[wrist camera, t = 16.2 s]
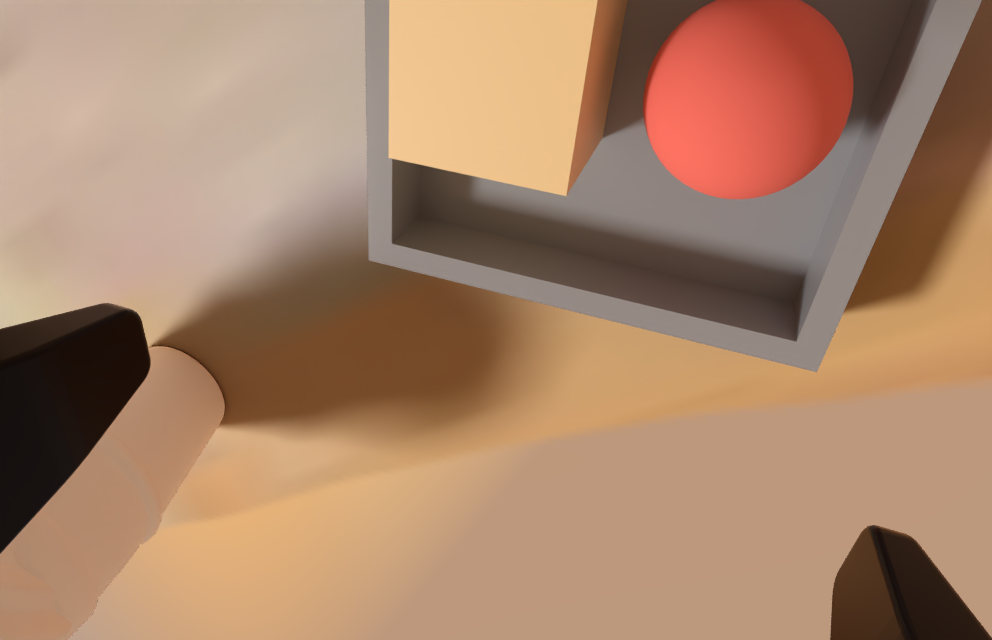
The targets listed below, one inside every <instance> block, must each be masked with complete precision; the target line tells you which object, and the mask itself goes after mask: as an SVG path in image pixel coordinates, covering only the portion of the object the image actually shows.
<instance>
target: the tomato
mask: <svg viewBox="0 0 992 640" xmlns="http://www.w3.org/2000/svg"><path fill="white" fill-rule="evenodd" d="M852 98H853V73H852V66H851V62H850V58H849V55H848V51H847V49H846V46H845V44H844V42H843V40H842V38H841V36H840V35H839V33H838V32H837V30H836V29H835V27H834V26H833V25H832V24H831V23H830V22H829V21H828V20H827V19H826V17H825V16H823V15H822V14H821V13H820V12H818V11H817V10H816V9H814V8H813V7H811V6H810V5H808V4H806V3H804V2H802V1H801V0H716V1H713V2H711V3H709V4H707V5H705V6H703V7H702V8H700V9H699V10H697V11H696V12H694V13H692V14H691V15H690V16H689V17H687V18H686V19H685V20H684V21H683V22H681V23H680V24H679V25H678V26H677V28H676V29H675V30H674V31H673V32H672V33H671V34H670V35H669V36H668V38H667V39H666V40H665V42H664V43H663V45H662V46H661V47H660V49H659V51H658V53H657V54H656V56H655V58H654V60H653V63H652V65H651V67H650V70H649V73H648V77H647V80H646V84H645V91H644V98H643V115H644V123H645V128H646V131H647V135H648V138H649V140H650V143H651V145H652V148H653V150H654V152H655V153H656V155H657V157H658V159H659V160H660V161H661V163H662V164H663V165H664V166H665V168H666V169H667V170H668V171H669V172H670V173H671V174H672V175H673V176H674V177H676V178H677V179H678V180H680V181H681V182H682V183H684V184H685V185H687V186H689V187H691V188H692V189H694V190H696V191H699V192H701V193H704V194H706V195H710V196H714V197H718V198H725V199H750V198H757V197H762V196H766V195H769V194H772V193H775V192H778V191H781V190H783V189H785V188H787V187H789V186H791V185H793V184H794V183H796V182H798V181H799V180H801V179H802V178H804V177H805V176H806V175H807V174H809V173H810V172H811V171H813V170H814V169H815V168H816V167H817V166H818V165H819V164H820V163H821V162H822V161H823V160H824V159H825V158H826V156H827V155H828V154H829V153H830V151H831V150H832V149H833V147H834V146H835V144H836V142H837V141H838V139H839V138H840V136H841V134H842V131H843V129H844V127H845V125H846V122H847V119H848V115H849V112H850V109H851V104H852Z"/></svg>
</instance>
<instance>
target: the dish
mask: <svg viewBox="0 0 992 640" xmlns="http://www.w3.org/2000/svg"><path fill="white" fill-rule="evenodd" d="M713 1H716V0H628V1H627V6H626V12H625V17H624V23H623V28H622V34H621V39H620V45H619V50H618V56H617V61H616V67H615V72H614V78H613V83H612V89H611V94H610V99H609V105H608V110H607V116H606V121H605V127H604V132H603V138H602V140H601V141H600V143H599V144H598V146H597V148H596V149H595V151H594V152H593V154H592V156H591V157H590V159H589V160H588V162H587V164H586V165H585V167H584V168H583V170H582V172H581V173H580V175H579V176H578V178H577V180H576V181H575V183H574V184H573V186H572V188H571V189H570V191H569V193H568V194H567V196H563V195H558V194H554V193H549V192H544V191H540V190H535V189H531V188H526V187H521V186H517V185H512V184H507V183H503V182H498V181H494V180H489V179H484V178H480V177H475V176H470V175H466V174H461V173H457V172H452V171H447V170H443V169H438V168H433V167H429V166H424V165H419V164H415V163H410V162H406V161H401V160H396V159H392V158H389V0H365V52H366V118H367V184H368V251H369V261H373V262H377V263H381V264H385V265H389V266H393V267H397V268H401V269H405V270H409V271H413V272H417V273H421V274H425V275H429V276H433V277H437V278H441V279H445V280H449V281H453V282H457V283H461V284H465V285H469V286H473V287H477V288H481V289H485V290H489V291H493V292H497V293H501V294H505V295H509V296H513V297H517V298H521V299H525V300H529V301H533V302H537V303H541V304H545V305H549V306H553V307H557V308H561V309H565V310H570V311H574V312H578V313H582V314H586V315H590V316H594V317H598V318H602V319H606V320H610V321H614V322H618V323H622V324H626V325H630V326H634V327H638V328H642V329H646V330H650V331H654V332H658V333H662V334H666V335H670V336H674V337H678V338H682V339H686V340H690V341H694V342H698V343H702V344H706V345H710V346H714V347H718V348H722V349H726V350H730V351H734V352H738V353H742V354H746V355H750V356H754V357H758V358H762V359H766V360H770V361H774V362H778V363H782V364H786V365H790V366H794V367H798V368H802V369H806V370H810V371H814V372H817V371H818V368H819V366H820V364H821V362H822V359H823V357H824V355H825V353H826V350H827V348H828V346H829V344H830V341H831V339H832V337H833V335H834V332H835V330H836V328H837V326H838V323H839V321H840V319H841V317H842V314H843V312H844V310H845V308H846V305H847V303H848V301H849V299H850V296H851V294H852V292H853V290H854V287H855V285H856V283H857V281H858V278H859V276H860V274H861V272H862V269H863V267H864V265H865V263H866V260H867V258H868V256H869V254H870V251H871V249H872V247H873V245H874V242H875V240H876V238H877V236H878V233H879V231H880V229H881V227H882V224H883V222H884V220H885V218H886V215H887V213H888V211H889V209H890V206H891V204H892V202H893V200H894V197H895V195H896V193H897V191H898V188H899V186H900V184H901V182H902V179H903V177H904V175H905V173H906V170H907V168H908V166H909V164H910V161H911V159H912V157H913V155H914V152H915V150H916V148H917V146H918V143H919V141H920V139H921V137H922V134H923V132H924V130H925V128H926V125H927V123H928V121H929V119H930V116H931V114H932V112H933V110H934V107H935V105H936V103H937V101H938V98H939V96H940V94H941V92H942V89H943V87H944V85H945V83H946V80H947V78H948V76H949V74H950V71H951V69H952V67H953V65H954V62H955V60H956V58H957V56H958V53H959V51H960V49H961V47H962V44H963V42H964V40H965V38H966V35H967V33H968V31H969V29H970V26H971V24H972V22H973V20H974V17H975V15H976V13H977V10H978V8H979V6H980V4H981V1H982V0H801V1H802V2H804V3H806V4H808V5H810V6H811V7H813V8H814V9H816V10H817V11H818V12H820V13H821V14H822V15H823V16H825V17H826V19H827V20H828V21H829V22H830V23H831V24H832V25H833V26H834V27H835V29H836V30H837V32H838V33H839V35H840V36H841V38H842V40H843V42H844V44H845V46H846V49H847V51H848V55H849V58H850V62H851V66H852V73H853V98H852V104H851V109H850V112H849V115H848V119H847V122H846V125H845V127H844V129H843V131H842V134H841V136H840V138H839V139H838V141H837V142H836V144H835V146H834V147H833V149H832V150H831V151H830V153H829V154H828V155H827V156H826V158H825V159H824V160H823V161H822V162H821V163H820V164H819V165H818V166H817V167H816V168H815V169H814V170H813V171H811V172H810V173H809V174H807V175H806V176H805V177H804V178H802V179H801V180H799V181H798V182H796V183H794V184H793V185H791V186H789V187H787V188H785V189H783V190H781V191H778V192H775V193H772V194H769V195H766V196H762V197H757V198H750V199H725V198H718V197H714V196H710V195H706V194H704V193H701V192H699V191H696V190H694V189H692V188H691V187H689V186H687V185H685V184H684V183H682V182H681V181H680V180H678V179H677V178H676V177H674V176H673V175H672V174H671V173H670V172H669V171H668V170H667V169H666V168H665V166H664V165H663V164H662V163H661V161H660V160H659V159H658V157H657V155H656V153H655V152H654V150H653V148H652V145H651V143H650V140H649V138H648V135H647V131H646V128H645V123H644V115H643V98H644V91H645V84H646V80H647V77H648V73H649V70H650V67H651V65H652V63H653V60H654V58H655V56H656V54H657V53H658V51H659V49H660V47H661V46H662V45H663V43H664V42H665V40H666V39H667V38H668V36H669V35H670V34H671V33H672V32H673V31H674V30H675V29H676V28H677V26H678V25H679V24H680V23H681V22H683V21H684V20H685V19H686V18H687V17H689V16H690V15H691V14H692V13H694V12H696V11H697V10H699V9H700V8H702V7H703V6H705V5H707V4H709V3H711V2H713Z"/></svg>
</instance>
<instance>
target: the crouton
mask: <svg viewBox="0 0 992 640" xmlns="http://www.w3.org/2000/svg"><path fill="white" fill-rule="evenodd" d="M627 1H628V0H389V158H392V159H396V160H401V161H406V162H410V163H415V164H419V165H424V166H429V167H433V168H438V169H443V170H447V171H452V172H457V173H461V174H466V175H470V176H475V177H480V178H484V179H489V180H494V181H498V182H503V183H507V184H512V185H517V186H521V187H526V188H531V189H535V190H540V191H544V192H549V193H554V194H558V195H563V196H567V194H568V193H569V191H570V189H571V188H572V186H573V184H574V183H575V181H576V180H577V178H578V176H579V175H580V173H581V172H582V170H583V168H584V167H585V165H586V164H587V162H588V160H589V159H590V157H591V156H592V154H593V152H594V151H595V149H596V148H597V146H598V144H599V143H600V141H601V140H602V138H603V132H604V127H605V121H606V116H607V110H608V105H609V99H610V94H611V89H612V83H613V78H614V72H615V67H616V61H617V56H618V50H619V45H620V39H621V34H622V28H623V23H624V17H625V12H626V6H627Z"/></svg>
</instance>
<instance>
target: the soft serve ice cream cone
mask: <svg viewBox="0 0 992 640" xmlns="http://www.w3.org/2000/svg"><path fill="white" fill-rule="evenodd" d="M148 350H149V354H150V358H151V366H150V370H149V373H148V375H147V377H146V379H145V380H144V382H143V383H142V384H141V386H140V387H139V388H138V390H137V391H136V392H135V394H134V395H133V396H132V398H131V399H130V400H129V402H128V403H127V404H126V406H125V407H124V408H123V410H122V411H121V412H120V414H119V415H118V416H117V418H116V419H115V420H114V422H113V423H112V424H111V425H110V427H109V428H108V429H107V431H106V432H105V433H104V435H103V436H102V437H101V439H100V440H99V441H98V443H97V444H96V445H95V447H94V448H93V449H92V451H91V452H90V453H89V455H88V456H87V457H86V459H85V460H84V461H83V462H82V464H81V465H80V466H79V467H78V469H77V470H76V471H75V472H74V473H73V474H72V476H71V477H70V478H69V479H68V480H67V481H66V482H65V484H64V485H63V486H62V487H61V488H60V489H59V490H58V491H57V492H56V494H55V495H54V496H53V497H52V498H51V499H50V500H49V501H48V502H47V503H46V505H45V506H44V507H43V508H42V509H41V510H40V511H39V512H38V513H37V514H36V516H35V517H34V518H33V519H32V520H31V521H30V522H29V523H28V524H27V525H26V527H25V528H24V529H23V530H22V531H21V532H20V533H19V534H18V535H17V536H16V537H15V539H14V540H13V541H12V542H11V543H10V544H9V545H8V546H7V547H6V548H5V550H4V551H3V552H2V553H1V554H0V640H68V639H69V638H70V637H71V636H72V635H73V634H74V633H75V632H76V631H77V630H78V629H79V628H80V627H81V626H82V625H83V624H84V623H85V622H86V621H87V620H88V619H89V618H90V617H91V616H92V615H93V613H94V610H95V608H96V605H97V602H98V597H99V596H100V595H101V594H102V593H103V591H105V589H106V588H107V587H108V586H109V584H110V583H111V582H112V581H113V580H114V579H115V577H116V576H117V575H118V574H119V573H120V572H121V570H122V569H123V568H124V566H125V565H126V563H127V562H128V561H129V560H130V558H131V557H132V556H133V554H134V553H135V552H136V550H137V549H138V548H139V546H140V545H141V544H143V543H145V542H146V541H148V540H149V539H150V538H151V537H152V536H153V535H155V533H156V531H157V529H158V527H159V525H160V523H161V519H162V514H163V513H164V511H165V509H166V508H167V506H168V505H169V503H170V501H171V500H172V498H173V497H174V495H175V494H176V492H177V490H178V489H179V487H180V486H181V484H182V483H183V481H184V479H185V478H186V476H187V475H188V473H189V471H190V470H191V468H192V467H193V465H194V464H195V462H196V460H197V459H198V457H199V456H200V454H201V453H202V451H203V449H204V448H205V446H206V445H207V443H208V442H209V440H210V438H211V437H212V435H213V434H214V432H215V431H216V429H217V427H218V426H219V424H220V423H221V421H222V419H223V417H224V411H225V403H224V398H223V395H222V392H221V390H220V388H219V386H218V384H217V383H216V381H215V380H214V378H213V377H212V375H211V374H210V373H209V372H208V371H207V370H206V369H205V368H204V367H203V366H202V365H201V364H200V363H199V362H198V361H196V360H195V359H193V358H192V357H190V356H189V355H187V354H185V353H183V352H181V351H179V350H176V349H173V348H170V347H164V346H155V347H150V348H148Z"/></svg>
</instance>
